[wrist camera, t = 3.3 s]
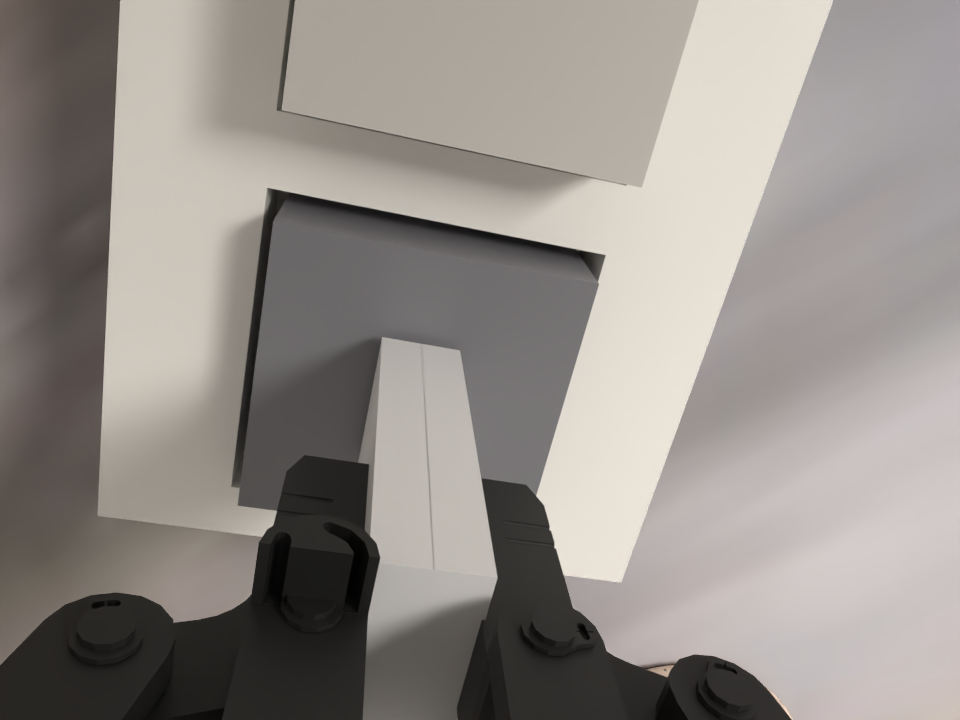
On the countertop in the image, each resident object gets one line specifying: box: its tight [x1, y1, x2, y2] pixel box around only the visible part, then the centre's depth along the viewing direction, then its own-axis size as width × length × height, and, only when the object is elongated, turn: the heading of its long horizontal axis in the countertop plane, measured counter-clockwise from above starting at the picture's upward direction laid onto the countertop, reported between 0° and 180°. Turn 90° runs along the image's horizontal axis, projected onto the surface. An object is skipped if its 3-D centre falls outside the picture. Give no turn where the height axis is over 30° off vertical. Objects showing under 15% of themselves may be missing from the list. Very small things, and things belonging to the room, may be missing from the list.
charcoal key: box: [238, 192, 599, 511], centre depth 17 cm, size 6×6×3 cm
